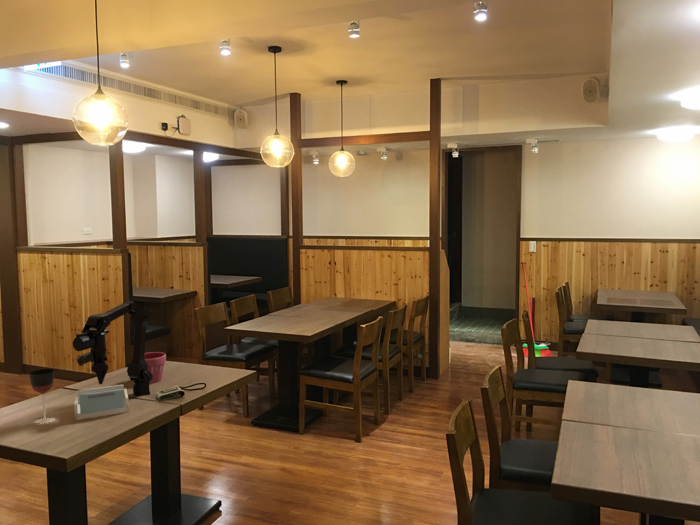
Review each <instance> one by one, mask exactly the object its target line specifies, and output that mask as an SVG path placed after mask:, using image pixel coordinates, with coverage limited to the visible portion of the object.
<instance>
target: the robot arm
mask: <svg viewBox="0 0 700 525" xmlns="http://www.w3.org/2000/svg"><path fill="white" fill-rule="evenodd" d="M126 314H128V315H129V316H130V320H131V322H132V323H131V324H132V325H133V328H134V330H133V345H132V346H133V350H132V360H131V361H130V362H128V363H127V365H126V367H127V368H126V373H127V376H128V377H129V378H128V379H129V380H130V381H131V382H132V381H133V383H132V394H133V395H134V396H135V397H141V396H148V395H151V390H150V383H149V382H150V381H151V380H152V378H153V375H152V374H151V373H150V372H149V371H148V365H147V363H146V361H145V359H144V357H145V353H146V336H147V335H146V334H147V331H146V330H147V326H148V325H149V323H150V322H151V316H152V310H151V309H150V308H149V307H145V306H142V305H140V304H138V303H136V302H134V301H123V302H122V303H120V304H119V305H117V306H115V307H113V308H111V309H109V310H107V311H104V312H102V313H101V312H100V313H96V314H92V315H89V316H88V317H87V320H86V323H85V325H84V327H83V329H82V330H81V333H76V334H75V336H76V337H74V339H73V340H72V341H73V342H72V347H73V349H74V350H75V351H77V352H81V351H85V350H89V349H90V350H89V352H85V353H83V354H80V355H79V356H77V357H76V358H75V361H76V362H77V365H78V366H79V367H83V366H84V365H86V364H87V363H91V367H90V368H91V372H93V373H95V374H96V377H97V381H98V384H99V385H103V383H104V380H105V377H106V376H107V372H108V370H109V363H108V354H107V340H106V335H107V334H109V333H110V331H109V330H108V329H107V328H108V327H109V326H110V325H111V324H112V322H113V321H115V320H116V319H118V318H121V317H123V316H124V315H126Z"/></svg>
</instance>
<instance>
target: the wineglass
mask: <svg viewBox="0 0 700 525" xmlns="http://www.w3.org/2000/svg"><path fill="white" fill-rule="evenodd" d="M28 375H29V380H30V381H29V382H30V385H31V389H32V390H33V391H34V392H36V393H40V394H41V397H42V398H41V400H42V410H43V411H42V413H43V419H42V418H39V419H40V420H39V419H37V420H38V421H37V420H36V421H37V423H40V424H39V425H45V424H44V423H47V424H49V423H48V422H51V423H53V422H55V421H56V418H55V417H51V418H49V417H46V400H45V393H47V392H48V391H50V390H51V389H52V388H53V385H54V381H55V370H54V369H52V368H42V369H36V370H33V371H30V372H29V373H28ZM53 420H54V421H53ZM52 421H53V422H52ZM42 423H43V424H42Z"/></svg>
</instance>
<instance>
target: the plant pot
mask: <svg viewBox="0 0 700 525" xmlns="http://www.w3.org/2000/svg"><path fill="white" fill-rule="evenodd" d="M144 359H145V361H146V363H147V365H148V371H149V372H150V373H151V374H152V375H153V378H152V380H151V381H150V382H149V384H154V383H155V384H156V383H159V382H161V381H162V379H163V373H164V368H165V363H166V362H167V355H166V353H165V352H161V351H155V352H154V351H149V352H145V357H144Z"/></svg>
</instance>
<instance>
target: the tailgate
mask: <svg viewBox="0 0 700 525" xmlns="http://www.w3.org/2000/svg"><path fill="white" fill-rule="evenodd" d="M79 398H80V414H85V413H91V412H98V411H105V410H111V409H118V408H124V404H123V389H120V390H112V391H105V392H98V393H91V394H83V395H79Z"/></svg>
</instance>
